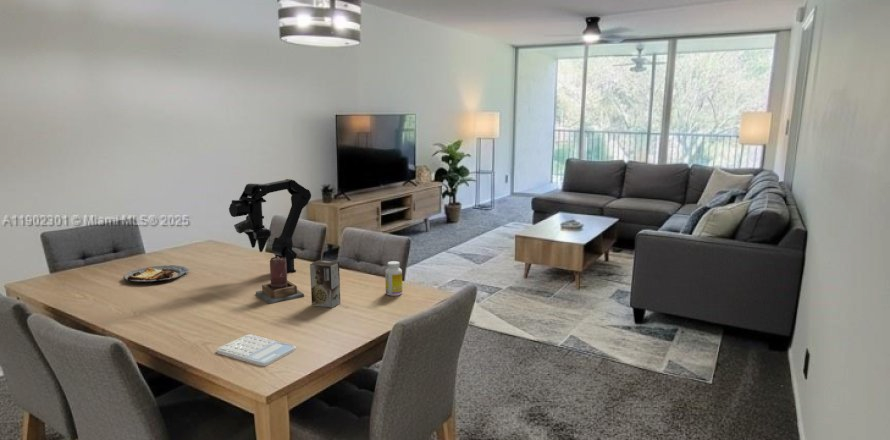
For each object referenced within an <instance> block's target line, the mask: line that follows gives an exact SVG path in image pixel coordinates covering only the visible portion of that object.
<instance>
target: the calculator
mask: <svg viewBox="0 0 890 440" xmlns="http://www.w3.org/2000/svg"><path fill="white" fill-rule="evenodd" d="M296 348H297V347H296V346H295V345H293V344H290V343H286V342H282V341H279V340H274V339H271V338H266V337H263V336H259V335H255V334H251V333H250V334H249V333H248V334H246V335H242V336H241V337H239V338H237V339H235V340H232V341H230V342H228V343H226V344H223V345H221V346H219V347H217V348H216V353H217V354H219V355H222V356H226V357H229V358H232V359H235V360H239V361H243V362H246V363H250V364H253V365H255V366H256V365H257V366H261V367H267V366H269V365H271V364H273V363H275V362H277V361H279V360H280V359H282V358H284V357H286V356H288V355H289V354H292V353H294V352H295V351H296Z"/></svg>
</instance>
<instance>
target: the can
mask: <svg viewBox="0 0 890 440" xmlns="http://www.w3.org/2000/svg"><path fill="white" fill-rule="evenodd" d="M269 269H270V273H269V274H270V283H271V289H272V290H276V289H281V288H286V287H287V280H288V273H287V265H286V259H285V257H275V256H273V257H271V258H270V260H269Z"/></svg>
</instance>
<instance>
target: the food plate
mask: <svg viewBox="0 0 890 440" xmlns="http://www.w3.org/2000/svg"><path fill="white" fill-rule="evenodd" d="M189 271H190V269H189V268H188V267H185V266H183V265H182V266H181V265H174V264H172V265H171V264H170V265H169V264H168V265H167V264H166V265H155V266H147V267H141V268H138V269H134V270H131V271H129V272H128V273H126V274H125V275H123V277H122V278H123V280H125V281H128V282H139V283H140V282H141V283H155V282H159V281H160V282H161V281H165V280H166V281H168V280H174V279H178V278H180V277H181V276H182V275H185V274H186V273H187V272H189ZM174 273H177V275H176V276H174V275H175V274H174Z"/></svg>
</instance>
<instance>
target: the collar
mask: <svg viewBox="0 0 890 440" xmlns="http://www.w3.org/2000/svg"><path fill="white" fill-rule="evenodd" d="M255 295H256V296H257V297H259V298H261V299H262V300H263V301H264V302H266V303H267V304H270V305H271V304H274V303H279V302H284V301H289V300H293V299H294V300H295V299H298V298H303V297H305V294H304V293H303V292H301V291H299V290H298V286H297V285H296V284H294V283H293V282H291V281H290V280H288V279H287V287H286V288H281V289H276V290H272V289H271V282H268V283H264V284H261V290H257V291H255Z"/></svg>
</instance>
